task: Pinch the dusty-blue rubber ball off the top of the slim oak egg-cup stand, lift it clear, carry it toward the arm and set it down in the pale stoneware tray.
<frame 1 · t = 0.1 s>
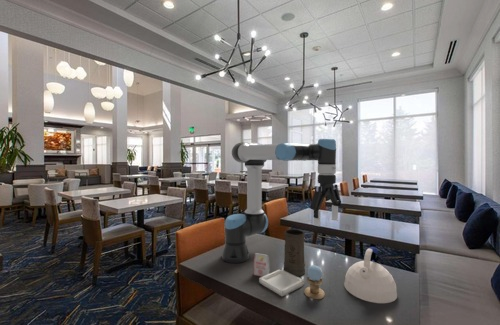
hand: (326, 222, 107), 28 cm above the table, fingers open, 13 cm apart
beer stein: (294, 269, 123), on the table
stand: (314, 293, 101), on the table
ball: (314, 280, 101), point 6 cm above the table, touching stand
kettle: (369, 290, 104), on the table
tray: (281, 283, 109), on the table
white cardboard box: (261, 275, 117), on the table
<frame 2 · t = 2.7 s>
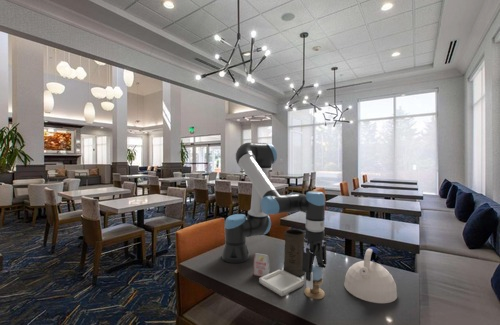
hand: (314, 284, 101), 4 cm above the table, fingers closed on ball, stand, 6 cm apart
ball: (314, 280, 101), point 6 cm above the table, touching gripper, stand
everything else where it was.
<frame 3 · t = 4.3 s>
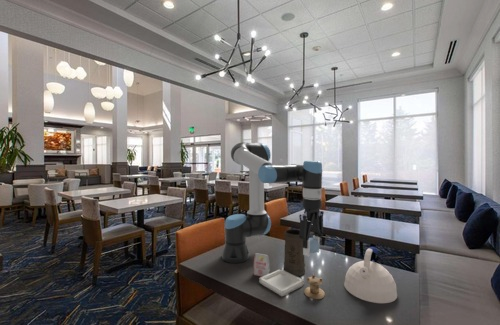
hand: (311, 253, 102), 16 cm above the table, fingers closed on ball, 6 cm apart
ball: (311, 252, 101), point 17 cm above the table, touching gripper
everything else where it was.
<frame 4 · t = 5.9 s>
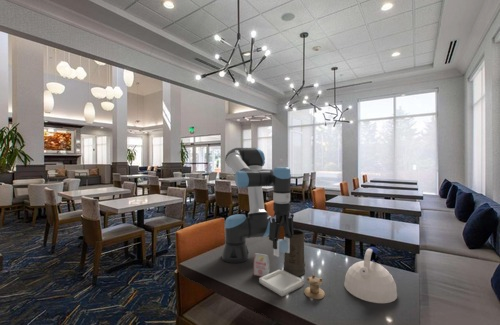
hand: (281, 253, 108), 14 cm above the table, fingers closed on ball, 6 cm apart
ball: (281, 253, 108), point 14 cm above the table, touching gripper
everything else where it was.
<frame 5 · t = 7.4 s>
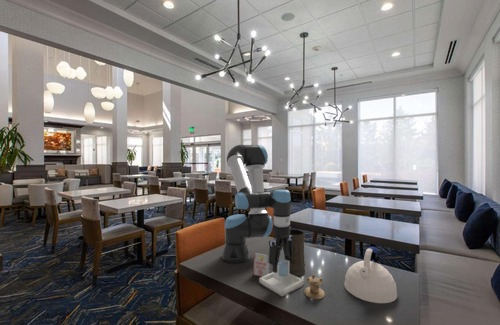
hand: (281, 276, 108), 3 cm above the table, fingers closed on ball, 6 cm apart
ball: (281, 275, 108), point 4 cm above the table, touching gripper
everything else where it was.
when the fingers open (1 cm above the table, at t = 8.3 s): ball stays where it is, resting on tray.
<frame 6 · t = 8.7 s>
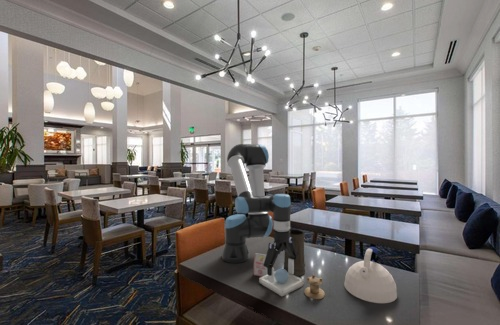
hand: (281, 277, 109), 3 cm above the table, fingers open, 12 cm apart
ball: (281, 282, 109), point 1 cm above the table, touching tray
everything else where it was.
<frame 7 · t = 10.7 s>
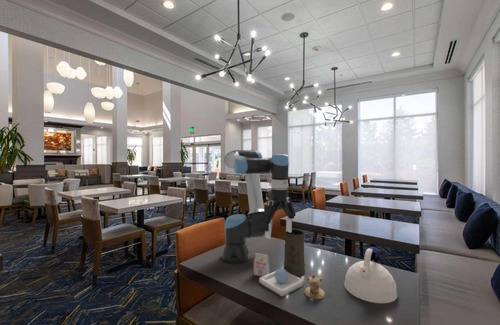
hand: (278, 234, 111), 21 cm above the table, fingers open, 13 cm apart
nothing on the table moved.
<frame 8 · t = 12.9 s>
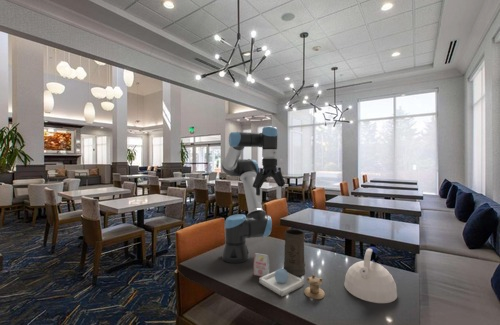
hand: (269, 200, 122), 35 cm above the table, fingers open, 13 cm apart
nothing on the table moved.
at the end: ball inside the target area on the tray (0.1 cm from its centre), point 0.8 cm above the tray's base; ball touching tray; the gripper is holding nothing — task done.
